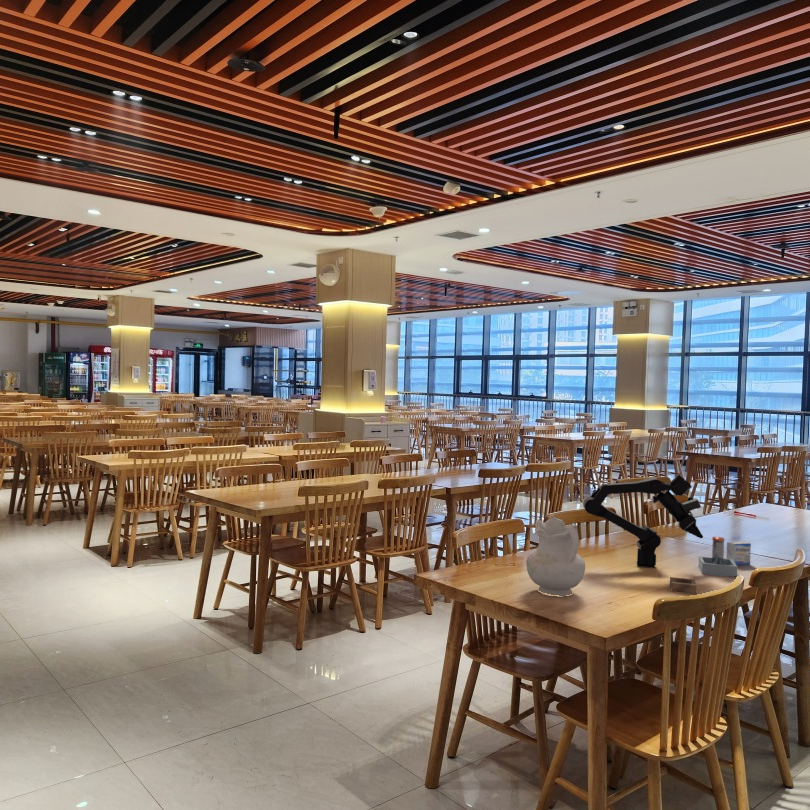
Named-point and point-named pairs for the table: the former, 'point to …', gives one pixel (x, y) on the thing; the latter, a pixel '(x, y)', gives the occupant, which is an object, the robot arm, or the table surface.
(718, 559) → the pin
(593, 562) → the table surface
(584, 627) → the table surface
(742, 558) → the medicine box
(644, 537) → the robot arm
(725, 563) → the tray
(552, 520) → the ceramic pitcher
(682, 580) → the socket block
